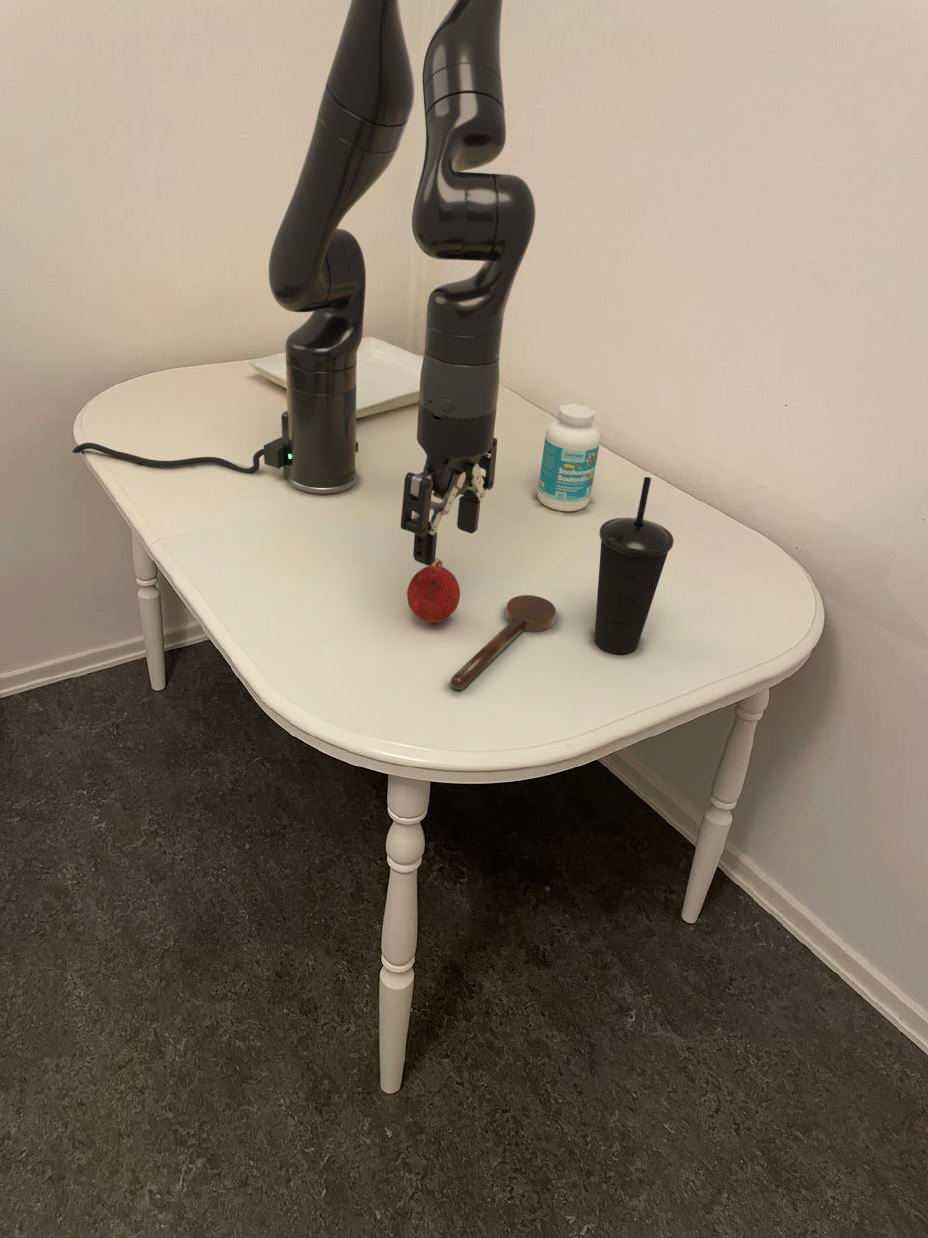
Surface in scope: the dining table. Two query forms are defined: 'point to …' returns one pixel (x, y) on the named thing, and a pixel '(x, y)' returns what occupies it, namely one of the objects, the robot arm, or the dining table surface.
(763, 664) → the dining table surface
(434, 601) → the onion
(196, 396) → the dining table surface
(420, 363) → the square plate
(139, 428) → the dining table surface
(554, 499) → the pill bottle
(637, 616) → the drinking cup
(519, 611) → the spoon
